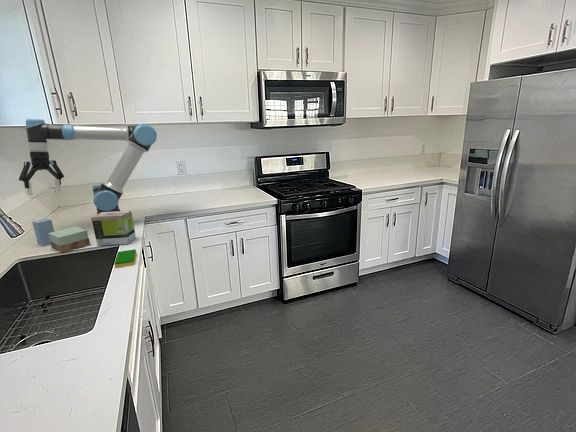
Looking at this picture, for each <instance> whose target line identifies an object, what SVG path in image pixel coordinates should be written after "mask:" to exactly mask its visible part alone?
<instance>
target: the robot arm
mask: <svg viewBox="0 0 576 432" xmlns="http://www.w3.org/2000/svg"><path fill="white" fill-rule="evenodd" d="M25 130H26V135H27V141H28V142H27V143H28V150H29V157H30V161H28V160H24V161H23V167H22V169H21V172H20V175H19V177H18V181H20V182H23V184H24V185H23V186H24V189H26V193H27V195H29V196H34V194H33V193H34V192H33V188H32V187H33V186H32V181H30V180H31V179H32V177H34V175H35V174H36V172H38V171H42V170H45V171H48V172H49V173H50V174H51V175H52V176H53V177H54V186H55V192H58V193H60V192H61V185H62V179H63V178H65V175H64V174H63V172H62V171H61V170H62V169H60V167H59V166H58V164H57V161H56V159H55V160H53V159H52V160H50V154H49V145H48V140H60V141H62V140H65V141H73V140H81V141H83V140H85V141H87V140H88V141H125V142H127V143H128V145H127V147H126V148H125V150H124V152H123V154H122V155H121V157H120V158H119V160H118V162H117V164H116V165H115V167H114V168H113V170H112V172H111V174H110V175H109V177H108V178H107V180H106V181H103V182H101V184H95V185H93V186H92V193H93V203H94V206H95V207H96V215H97V214H99V213H101V212H116V211H121V209H120V208H119V201H120V199H121V197H122V196H123V194H124V190H123V188H124V187H125V184H127V182H128V180H129V179H130V176H131V175H132V174H133V171H134V170H135V169H136V166H138V165H137V164H138V162H139V161H140V160H141V158H142V156H143V154H144V153H147V152H149V150H150V149H151V146H152V145H153V144H155V142H156V141H157V137H158V136H157V131H156V130H155V128H154V127H153V126H152V125H150V124H147V123H140V124H136V125H126V126H125V127H122V126H96V125H94V126H93V125H72V124H53V123H46V122H45V120H44V119H38V118H27V119H26V120H25ZM51 166H52V167H51ZM30 167H31V168H30Z"/></svg>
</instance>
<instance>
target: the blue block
mask: <svg viewBox="0 0 576 432" xmlns="http://www.w3.org/2000/svg"><path fill="white" fill-rule="evenodd" d="M31 223H32V226H33V231H34V233H35V237H36V241H37V245H39V246H41V247H46V246H49V245H50V246H51V243H50V238H49V234H48V233H51V232H55V229H54V225H53V220H52V219H51V218H41V219H37V220H33V221H32V222H31Z"/></svg>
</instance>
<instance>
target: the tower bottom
mask: <svg viewBox="0 0 576 432" xmlns="http://www.w3.org/2000/svg"><path fill="white" fill-rule="evenodd" d="M50 243H51V244H50V246H51V249H52V248H53V249H52V250H55V249H56V250H55V251H57V250H58V252H59V251H60V253H62V254H65V253H67V252H71V251H74V249H75V250H78V249H80V248H84V247H87V246H90V245H91V241H90V237H88V238H87V239H84V240H80V241H76V242H73V243H69V244H65V245H62V246H59V245H57V244H55V243H53V242H51V241H50Z"/></svg>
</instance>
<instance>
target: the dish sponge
mask: <svg viewBox="0 0 576 432" xmlns="http://www.w3.org/2000/svg"><path fill="white" fill-rule="evenodd" d="M136 258H137V251H136V249H135V248H134V249H130V250H129V249H128V250H122V251H117V253H116V258H115V260H114V263H113V264H114V269H117V268H123V267H130V266H134V265H135V264H136Z"/></svg>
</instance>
